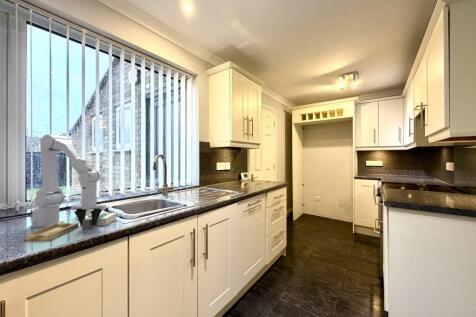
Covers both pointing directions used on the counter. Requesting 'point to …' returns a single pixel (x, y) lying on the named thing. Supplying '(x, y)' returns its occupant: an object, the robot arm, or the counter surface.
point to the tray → (51, 232)
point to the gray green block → (88, 221)
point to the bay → (106, 218)
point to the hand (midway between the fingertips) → (88, 224)
